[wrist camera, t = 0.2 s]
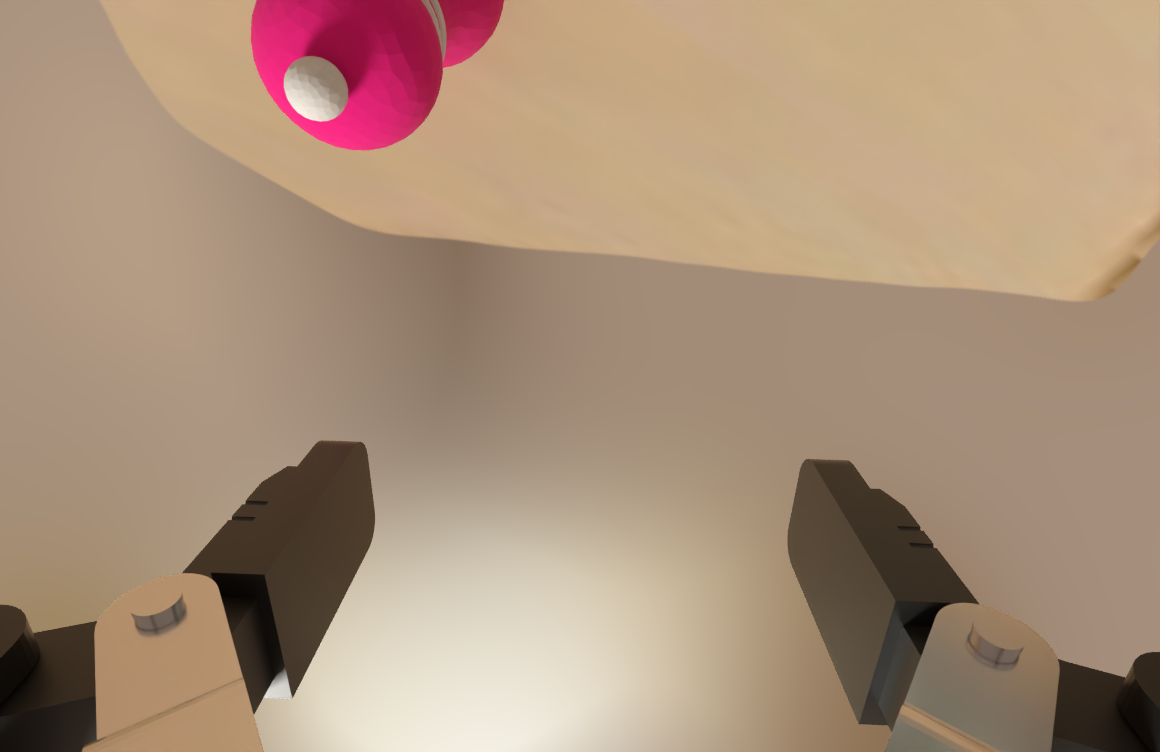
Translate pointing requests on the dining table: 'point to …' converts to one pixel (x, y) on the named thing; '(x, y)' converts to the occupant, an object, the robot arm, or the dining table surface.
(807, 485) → the robot arm
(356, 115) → the pepper mill
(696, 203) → the dining table surface
